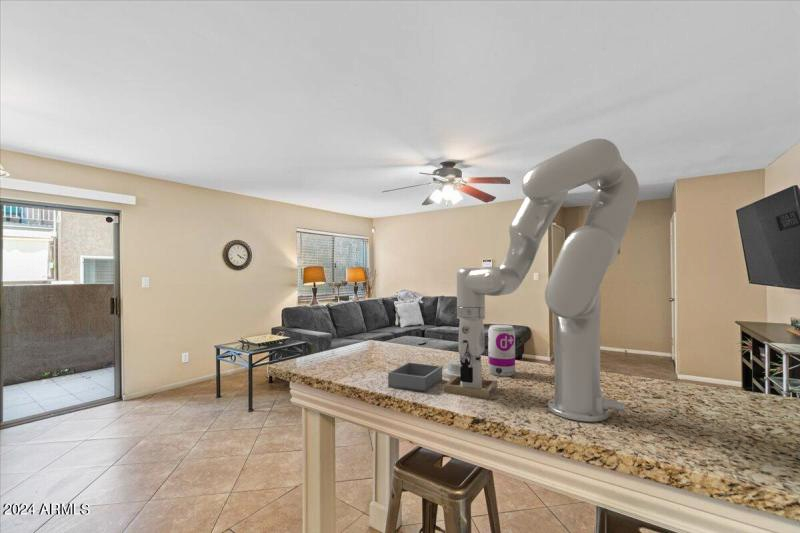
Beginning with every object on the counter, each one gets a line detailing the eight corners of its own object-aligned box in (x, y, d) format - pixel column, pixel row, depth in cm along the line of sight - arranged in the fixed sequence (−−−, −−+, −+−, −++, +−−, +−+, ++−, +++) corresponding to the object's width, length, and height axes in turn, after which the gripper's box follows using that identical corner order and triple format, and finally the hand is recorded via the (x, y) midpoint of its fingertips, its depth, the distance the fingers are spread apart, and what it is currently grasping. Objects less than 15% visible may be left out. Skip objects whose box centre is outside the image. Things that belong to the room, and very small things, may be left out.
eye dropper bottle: (464, 386, 102) (463, 343, 102) (483, 389, 99) (483, 345, 100) (458, 390, 98) (458, 346, 99) (478, 394, 96) (478, 348, 96)
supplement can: (518, 376, 112) (518, 328, 112) (491, 376, 112) (491, 327, 112) (510, 369, 120) (510, 324, 120) (485, 369, 120) (485, 324, 120)
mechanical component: (437, 376, 113) (465, 382, 107) (437, 362, 113) (465, 367, 107) (453, 369, 121) (480, 375, 115) (453, 356, 121) (480, 360, 115)
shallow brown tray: (497, 388, 101) (497, 380, 101) (489, 399, 92) (489, 391, 92) (455, 382, 106) (455, 375, 106) (444, 392, 97) (444, 384, 97)
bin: (442, 379, 108) (442, 366, 109) (425, 392, 97) (425, 377, 97) (408, 375, 114) (408, 362, 114) (388, 386, 102) (388, 372, 102)
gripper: (475, 317, 90) (476, 389, 89) (491, 310, 105) (492, 371, 105) (447, 315, 93) (447, 384, 93) (466, 309, 109) (466, 368, 108)
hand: (471, 377), depth 99 cm, fingers open, 7 cm apart
